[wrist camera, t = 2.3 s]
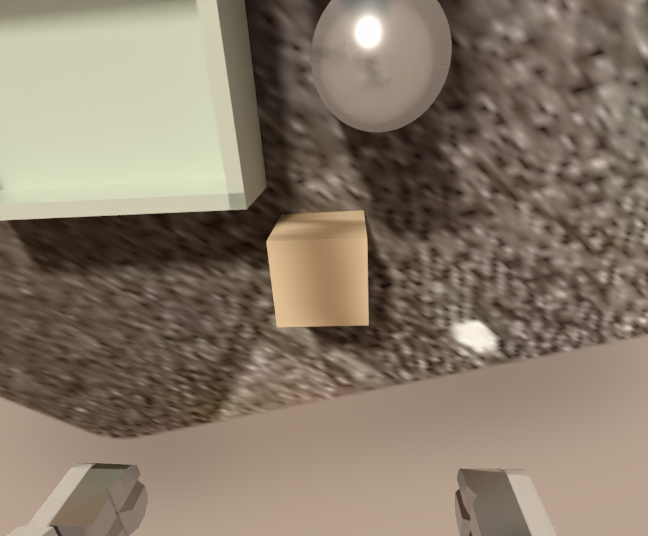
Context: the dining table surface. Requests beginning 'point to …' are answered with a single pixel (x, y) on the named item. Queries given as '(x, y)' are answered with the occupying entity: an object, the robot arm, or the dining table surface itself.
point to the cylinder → (380, 60)
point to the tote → (126, 108)
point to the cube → (319, 269)
